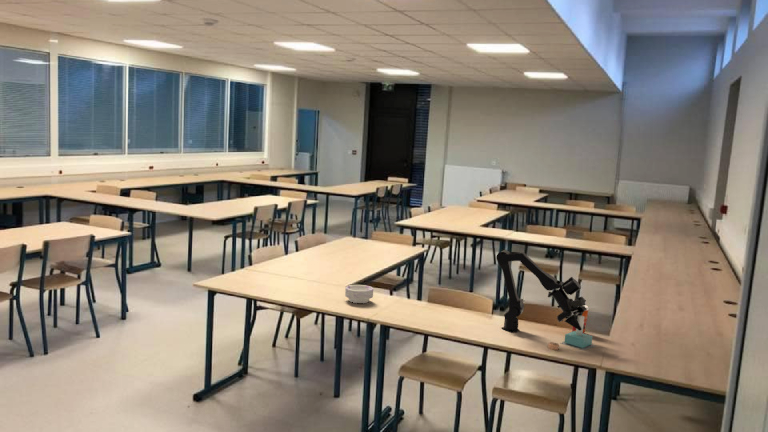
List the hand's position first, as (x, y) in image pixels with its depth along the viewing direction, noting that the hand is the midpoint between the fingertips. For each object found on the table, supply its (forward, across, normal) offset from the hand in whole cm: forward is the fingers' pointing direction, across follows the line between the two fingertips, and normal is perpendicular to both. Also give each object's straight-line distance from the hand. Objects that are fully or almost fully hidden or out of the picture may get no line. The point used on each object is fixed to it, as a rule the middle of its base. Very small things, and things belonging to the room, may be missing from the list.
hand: (582, 329), depth 283 cm
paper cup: (-1, +18, +13) cm, 22 cm away
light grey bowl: (-73, -35, +85) cm, 118 cm away
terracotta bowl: (+2, -15, +10) cm, 18 cm away
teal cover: (+4, 0, +6) cm, 7 cm away
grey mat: (+4, 0, +6) cm, 8 cm away
